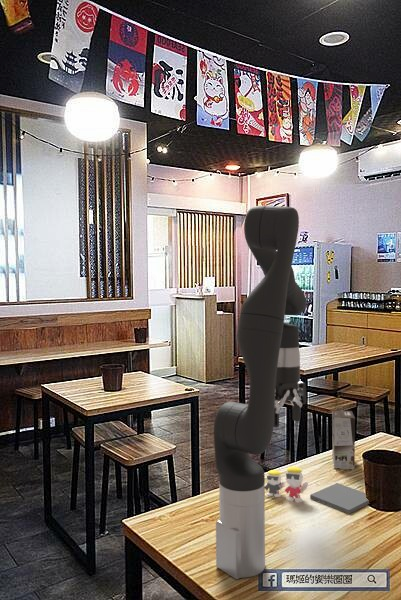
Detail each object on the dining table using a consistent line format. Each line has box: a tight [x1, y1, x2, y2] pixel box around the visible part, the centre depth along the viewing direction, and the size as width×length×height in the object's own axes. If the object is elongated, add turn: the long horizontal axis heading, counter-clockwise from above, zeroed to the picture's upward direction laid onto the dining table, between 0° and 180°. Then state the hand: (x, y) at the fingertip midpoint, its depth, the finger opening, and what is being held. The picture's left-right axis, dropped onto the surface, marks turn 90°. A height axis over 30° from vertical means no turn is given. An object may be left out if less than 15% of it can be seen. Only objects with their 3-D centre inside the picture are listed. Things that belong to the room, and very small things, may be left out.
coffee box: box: [331, 410, 356, 471], centre depth 160 cm, size 9×6×16 cm
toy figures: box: [265, 466, 309, 504], centre depth 137 cm, size 12×4×8 cm, turn 57°
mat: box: [309, 482, 370, 515], centre depth 135 cm, size 12×12×1 cm
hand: (285, 423), depth 136 cm, fingers open, 8 cm apart
